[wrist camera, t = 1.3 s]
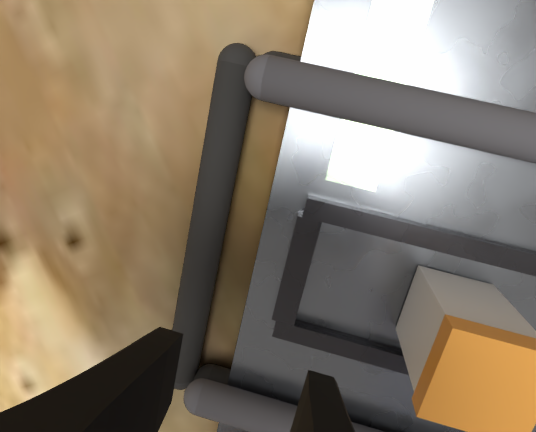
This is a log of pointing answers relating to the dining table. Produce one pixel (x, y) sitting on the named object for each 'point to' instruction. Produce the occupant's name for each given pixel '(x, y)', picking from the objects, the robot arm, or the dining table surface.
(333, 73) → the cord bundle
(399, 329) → the breaker lever
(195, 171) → the dining table surface
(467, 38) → the breaker panel
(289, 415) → the dark grey bar
